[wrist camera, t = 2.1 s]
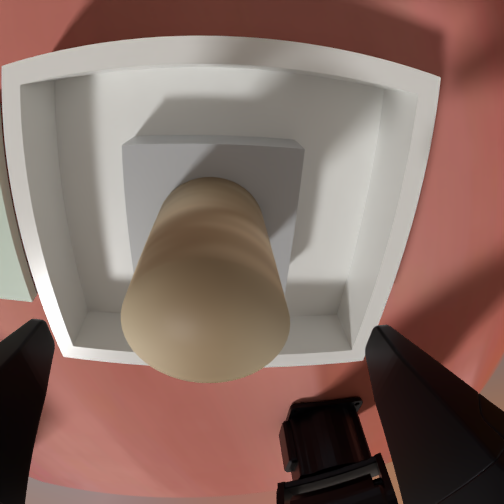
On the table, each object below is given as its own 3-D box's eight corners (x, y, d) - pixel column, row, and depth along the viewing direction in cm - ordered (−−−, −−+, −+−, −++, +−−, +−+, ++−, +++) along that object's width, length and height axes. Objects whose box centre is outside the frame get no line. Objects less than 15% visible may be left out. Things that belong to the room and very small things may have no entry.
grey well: (398, 73, 13) (440, 77, 10) (345, 319, 20) (362, 360, 17) (44, 64, 11) (1, 66, 8) (81, 315, 18) (63, 356, 15)
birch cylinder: (268, 178, 12) (302, 260, 7) (259, 273, 15) (278, 381, 9) (154, 176, 12) (106, 256, 7) (161, 272, 14) (136, 379, 9)
